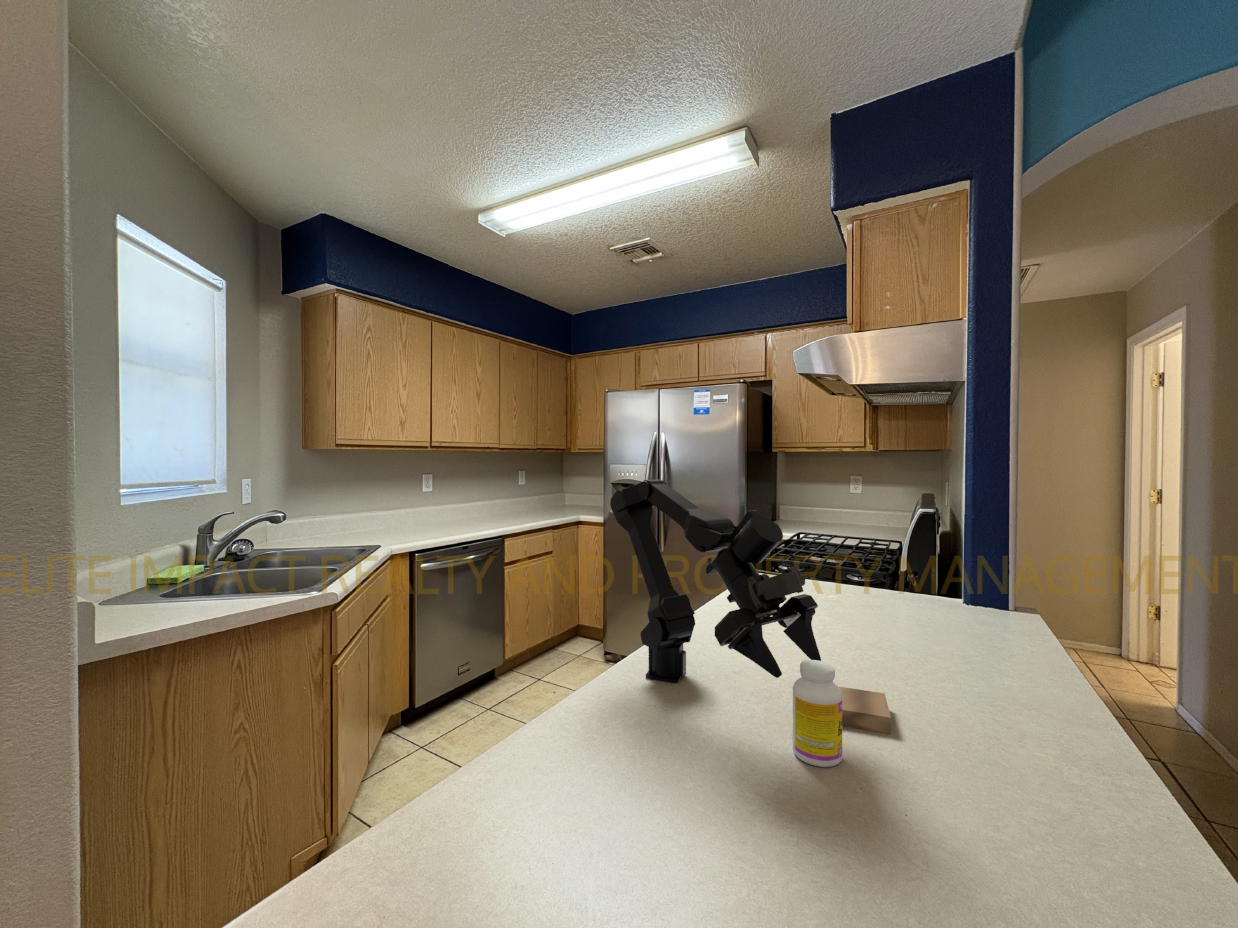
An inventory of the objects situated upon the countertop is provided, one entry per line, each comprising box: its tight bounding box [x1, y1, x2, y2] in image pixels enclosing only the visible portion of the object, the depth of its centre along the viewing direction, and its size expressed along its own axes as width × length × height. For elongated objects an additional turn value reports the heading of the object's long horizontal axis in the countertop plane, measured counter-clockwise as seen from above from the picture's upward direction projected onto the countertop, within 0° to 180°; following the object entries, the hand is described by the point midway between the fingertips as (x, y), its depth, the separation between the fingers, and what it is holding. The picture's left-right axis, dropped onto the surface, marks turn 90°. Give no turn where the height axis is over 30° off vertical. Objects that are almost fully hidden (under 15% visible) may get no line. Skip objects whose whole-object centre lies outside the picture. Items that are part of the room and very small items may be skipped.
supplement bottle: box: [792, 659, 843, 768], centre depth 75 cm, size 7×7×13 cm
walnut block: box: [837, 685, 892, 735], centre depth 86 cm, size 9×9×2 cm
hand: (799, 669), depth 77 cm, fingers open, 9 cm apart
